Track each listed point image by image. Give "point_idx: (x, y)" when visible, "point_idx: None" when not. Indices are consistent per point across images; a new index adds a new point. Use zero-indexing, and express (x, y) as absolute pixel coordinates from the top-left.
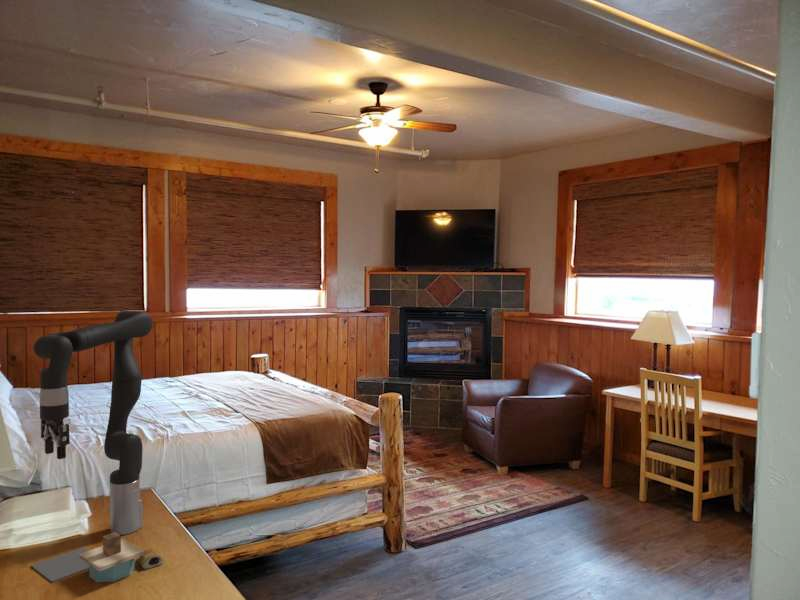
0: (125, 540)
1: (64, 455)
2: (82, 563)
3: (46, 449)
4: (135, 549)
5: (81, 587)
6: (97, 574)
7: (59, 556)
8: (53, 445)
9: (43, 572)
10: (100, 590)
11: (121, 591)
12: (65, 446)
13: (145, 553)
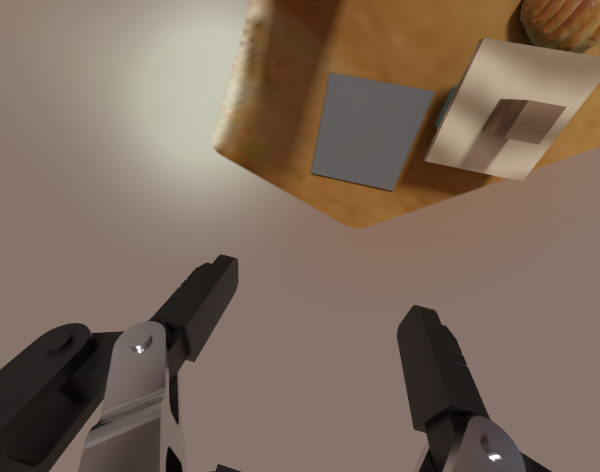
0: (501, 42)
1: (450, 340)
2: (391, 124)
3: (224, 308)
4: (574, 69)
5: (455, 179)
6: None
7: (323, 128)
8: (211, 292)
9: (352, 178)
10: None
11: (552, 156)
12: (469, 401)
13: (572, 29)
